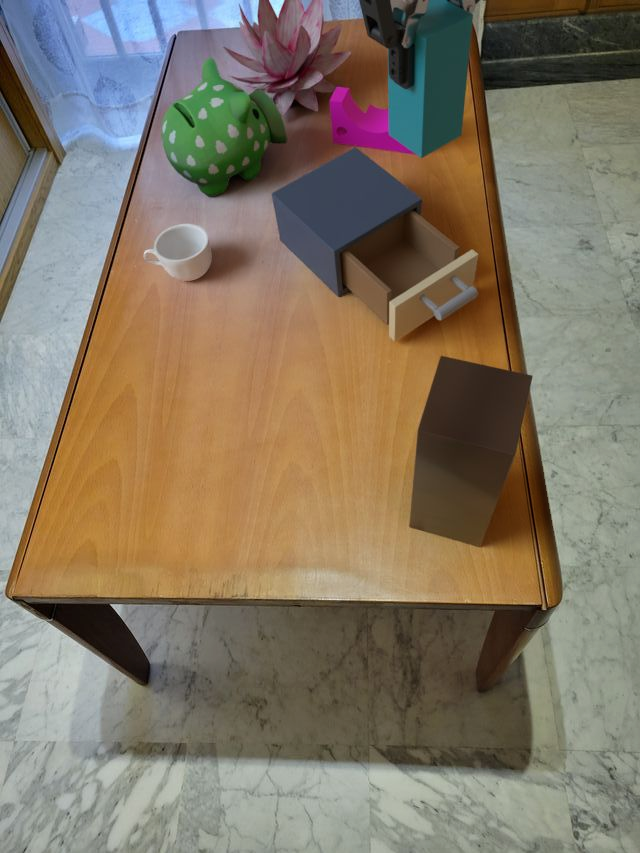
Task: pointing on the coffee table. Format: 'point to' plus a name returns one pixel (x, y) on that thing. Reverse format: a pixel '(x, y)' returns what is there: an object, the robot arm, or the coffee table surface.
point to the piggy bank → (220, 132)
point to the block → (433, 81)
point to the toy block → (361, 124)
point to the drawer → (409, 274)
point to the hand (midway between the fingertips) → (428, 70)
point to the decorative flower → (290, 52)
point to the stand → (466, 447)
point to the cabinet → (338, 211)
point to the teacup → (182, 251)
